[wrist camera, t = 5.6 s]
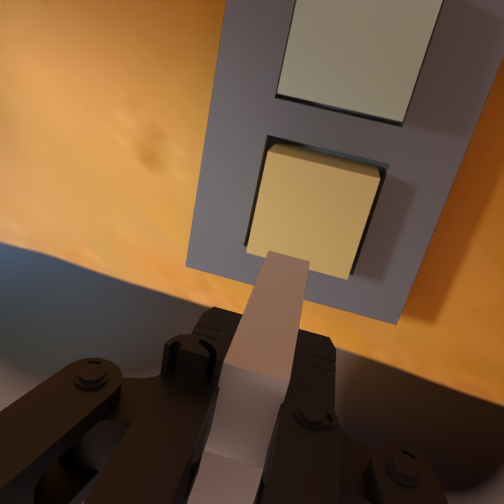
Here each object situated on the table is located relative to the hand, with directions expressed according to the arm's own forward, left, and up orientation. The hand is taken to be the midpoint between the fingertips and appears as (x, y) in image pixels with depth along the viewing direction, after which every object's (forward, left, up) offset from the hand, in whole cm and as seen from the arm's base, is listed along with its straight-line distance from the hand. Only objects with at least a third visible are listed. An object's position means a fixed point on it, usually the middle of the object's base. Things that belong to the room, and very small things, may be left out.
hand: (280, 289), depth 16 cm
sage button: (0, +9, -12) cm, 14 cm away
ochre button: (0, 0, -13) cm, 13 cm away
